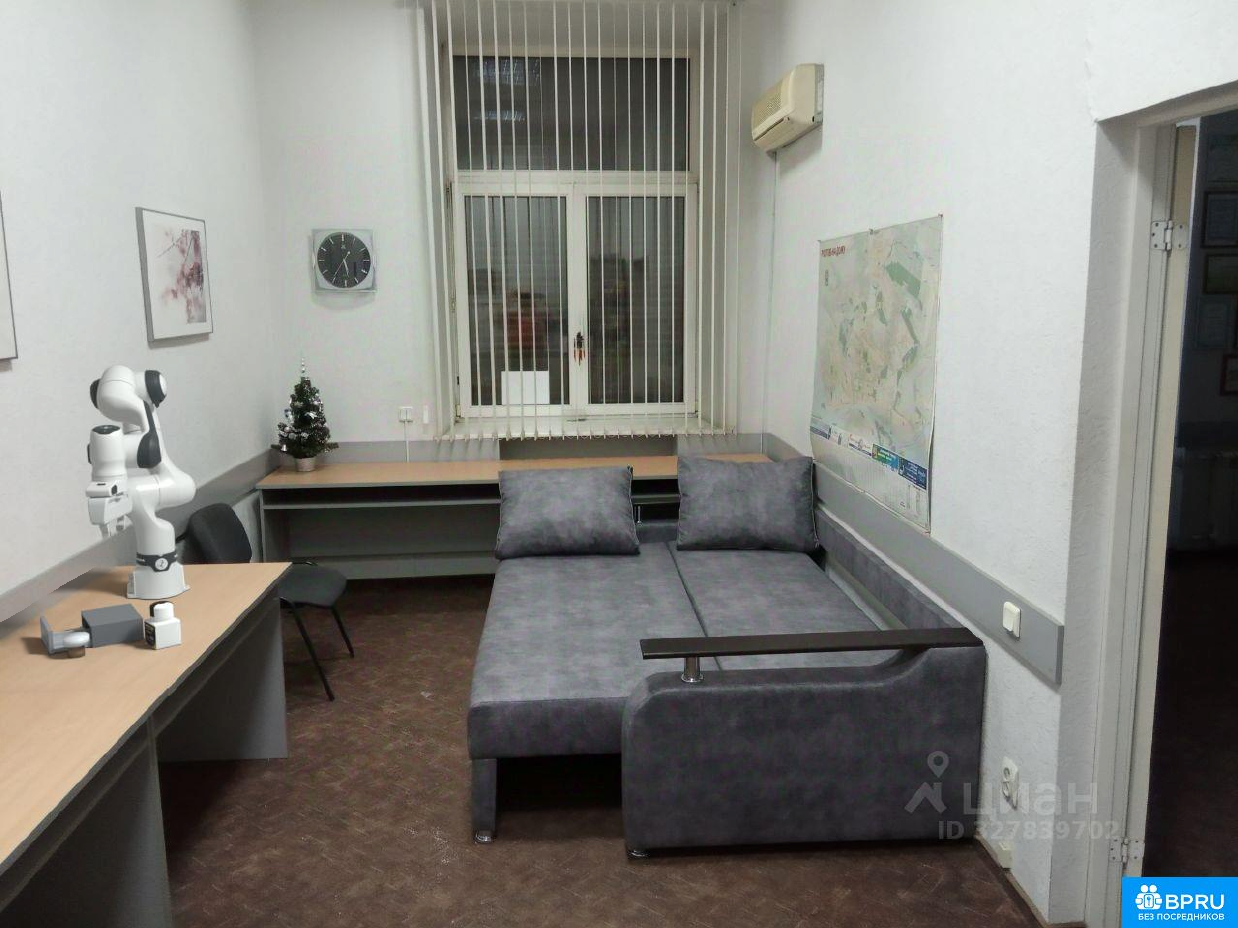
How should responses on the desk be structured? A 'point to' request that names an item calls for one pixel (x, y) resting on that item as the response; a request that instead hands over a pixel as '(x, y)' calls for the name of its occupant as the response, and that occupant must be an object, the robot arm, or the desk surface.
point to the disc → (75, 639)
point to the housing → (113, 624)
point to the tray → (58, 637)
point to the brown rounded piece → (76, 652)
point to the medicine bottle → (162, 626)
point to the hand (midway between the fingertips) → (113, 534)
